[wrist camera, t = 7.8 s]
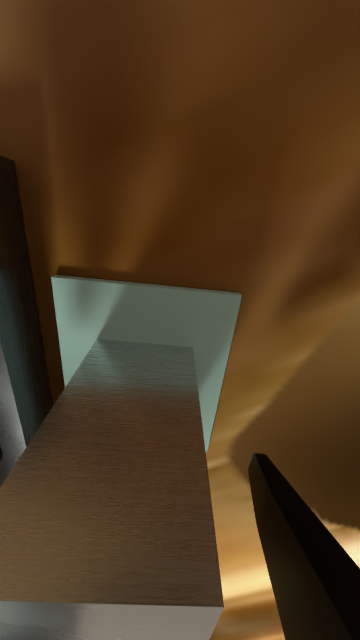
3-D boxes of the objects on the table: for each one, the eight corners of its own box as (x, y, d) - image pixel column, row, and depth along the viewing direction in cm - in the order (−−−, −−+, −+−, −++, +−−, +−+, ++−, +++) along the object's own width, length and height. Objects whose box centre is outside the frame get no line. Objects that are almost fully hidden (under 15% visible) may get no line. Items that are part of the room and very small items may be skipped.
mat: (206, 446, 14) (206, 452, 14) (75, 438, 14) (72, 444, 14) (239, 292, 10) (242, 295, 10) (55, 274, 10) (50, 277, 10)
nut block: (182, 417, 13) (189, 683, 6) (100, 411, 13) (-6, 680, 5) (193, 347, 11) (224, 607, 4) (96, 338, 11) (-73, 598, 3)
